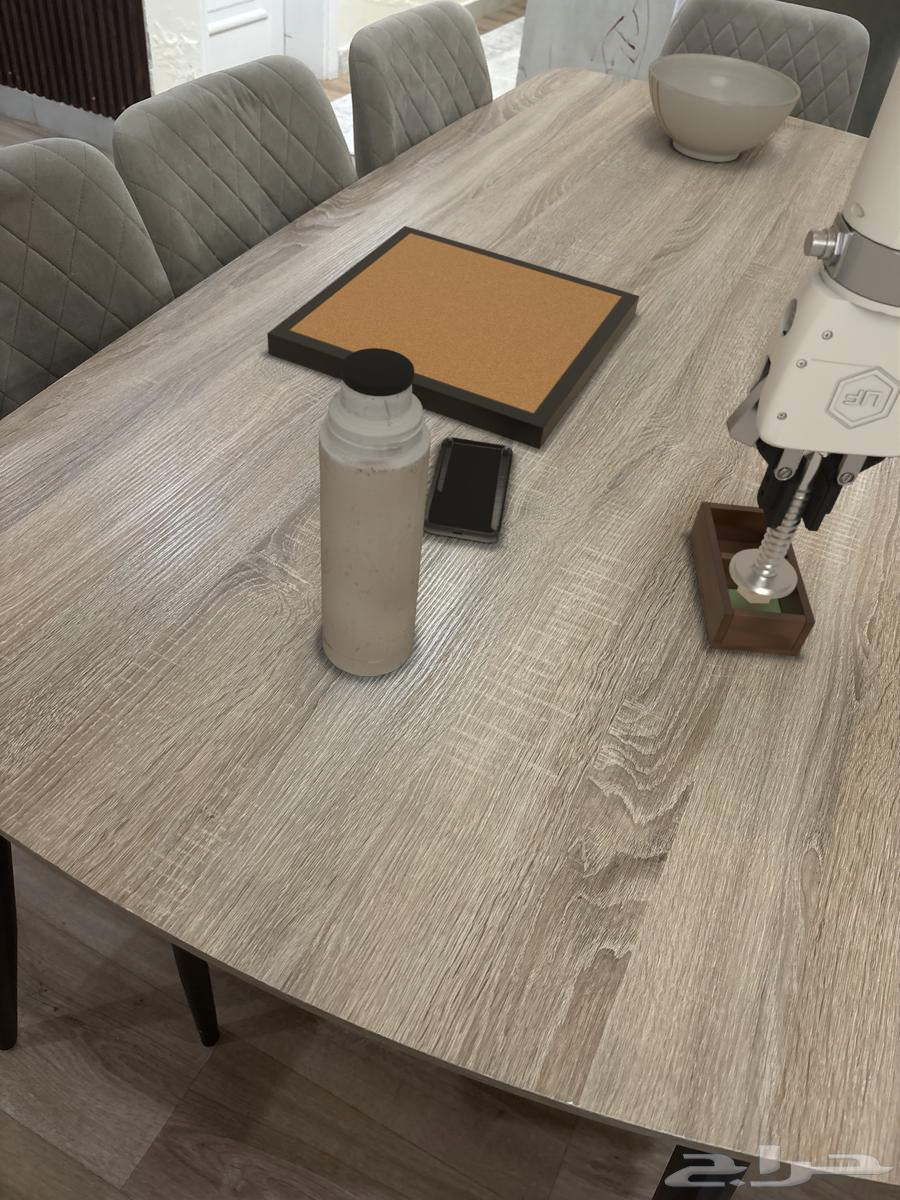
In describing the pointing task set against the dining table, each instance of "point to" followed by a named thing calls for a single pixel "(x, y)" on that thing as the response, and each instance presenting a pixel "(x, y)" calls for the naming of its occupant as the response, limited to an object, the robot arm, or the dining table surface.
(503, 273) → the cork board
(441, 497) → the phone
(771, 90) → the decorative bowl
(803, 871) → the dining table surface
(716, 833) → the dining table surface
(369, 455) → the thermos bottle
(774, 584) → the screw
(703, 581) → the organiser
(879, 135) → the robot arm
